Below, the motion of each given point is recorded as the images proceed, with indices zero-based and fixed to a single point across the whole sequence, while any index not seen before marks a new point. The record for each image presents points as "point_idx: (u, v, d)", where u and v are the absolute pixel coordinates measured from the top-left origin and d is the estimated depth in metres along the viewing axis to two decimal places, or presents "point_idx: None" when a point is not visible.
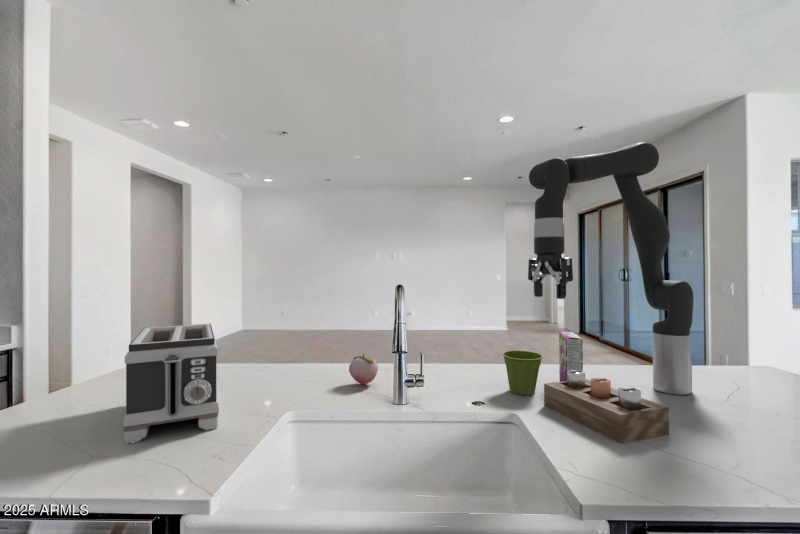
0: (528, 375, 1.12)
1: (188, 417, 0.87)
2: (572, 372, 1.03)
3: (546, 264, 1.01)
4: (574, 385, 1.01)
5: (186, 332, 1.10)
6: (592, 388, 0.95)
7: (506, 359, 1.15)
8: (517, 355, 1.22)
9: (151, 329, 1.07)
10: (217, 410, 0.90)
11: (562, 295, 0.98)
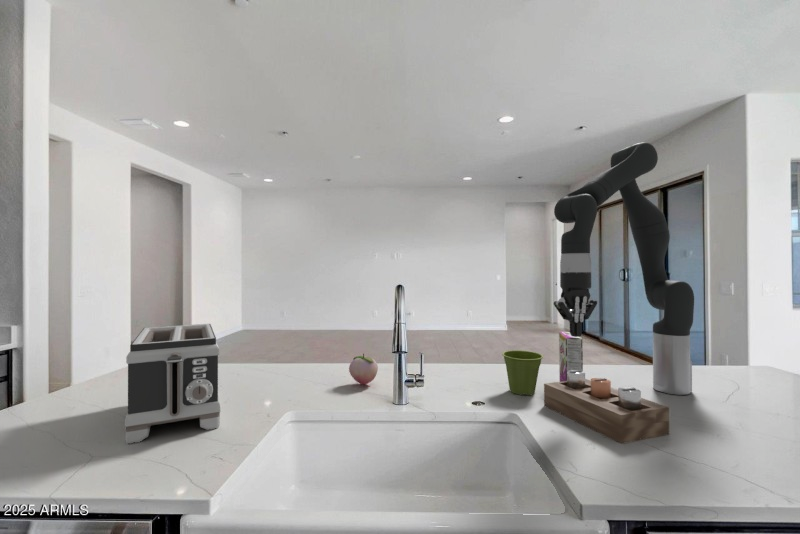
0: (528, 375, 1.12)
1: (190, 417, 0.87)
2: (572, 372, 1.03)
3: (584, 299, 1.02)
4: (574, 385, 1.01)
5: (186, 332, 1.10)
6: (592, 388, 0.95)
7: (506, 359, 1.15)
8: (517, 355, 1.22)
9: (151, 329, 1.07)
10: (219, 410, 0.90)
11: None
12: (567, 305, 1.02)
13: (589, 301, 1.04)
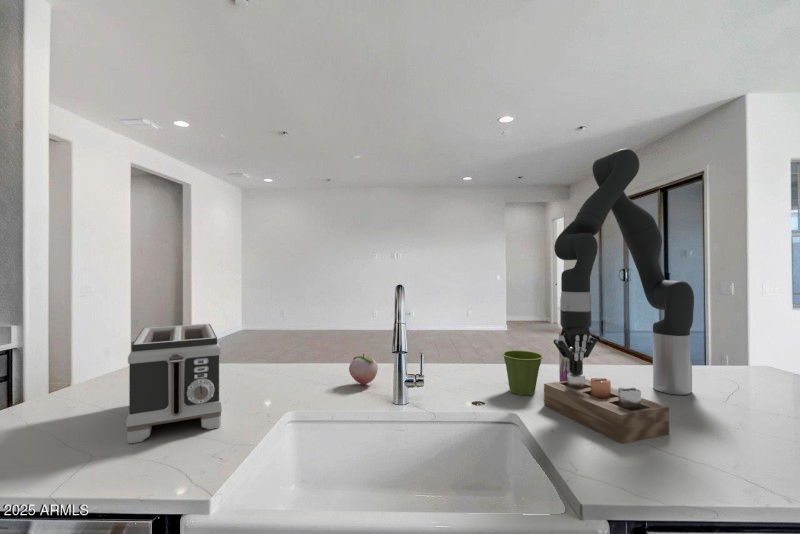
0: (528, 375, 1.12)
1: (191, 416, 0.87)
2: (572, 375, 1.03)
3: (584, 337, 1.02)
4: (574, 388, 1.01)
5: (186, 332, 1.10)
6: (592, 388, 0.95)
7: (506, 359, 1.15)
8: (517, 355, 1.22)
9: (150, 329, 1.07)
10: (220, 409, 0.90)
11: None
12: (567, 343, 1.02)
13: (589, 339, 1.04)
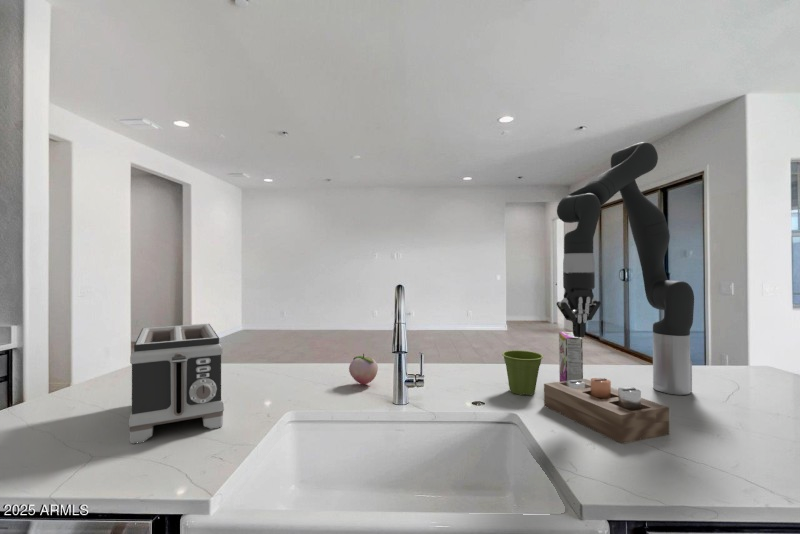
0: (528, 375, 1.12)
1: (193, 416, 0.88)
2: (572, 382, 1.03)
3: (588, 299, 1.01)
4: None
5: (185, 332, 1.10)
6: (592, 388, 0.95)
7: (506, 359, 1.15)
8: (517, 355, 1.22)
9: (150, 329, 1.06)
10: (222, 409, 0.91)
11: None
12: (570, 306, 1.01)
13: (592, 301, 1.03)
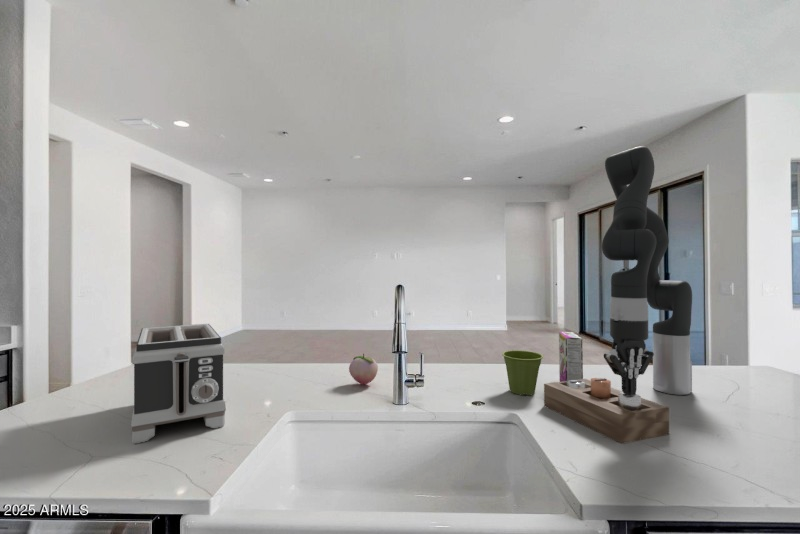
0: (528, 375, 1.12)
1: (196, 416, 0.88)
2: (572, 382, 1.03)
3: (640, 351, 0.87)
4: None
5: (185, 332, 1.10)
6: (592, 388, 0.95)
7: (506, 359, 1.15)
8: (517, 355, 1.22)
9: (149, 329, 1.06)
10: (224, 408, 0.91)
11: None
12: (619, 358, 0.87)
13: (644, 352, 0.89)
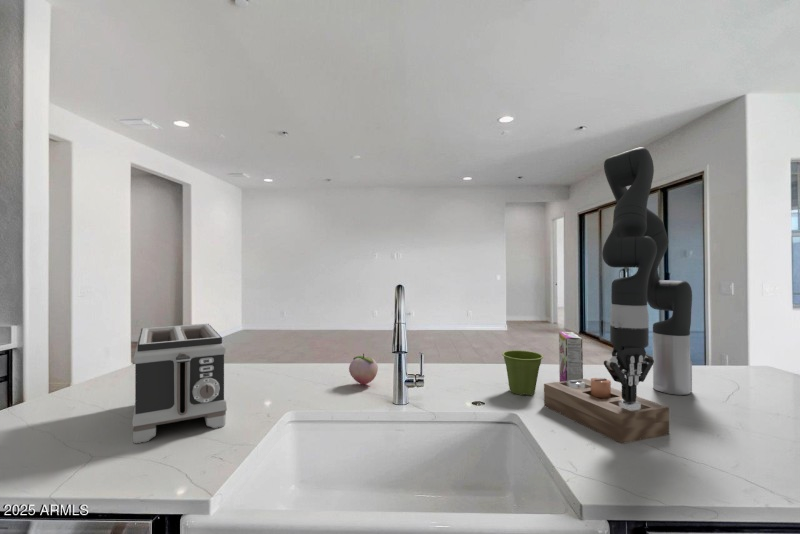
0: (528, 375, 1.12)
1: (197, 415, 0.88)
2: (572, 382, 1.03)
3: (640, 358, 0.87)
4: None
5: (185, 332, 1.10)
6: (592, 388, 0.95)
7: (506, 359, 1.15)
8: (517, 355, 1.22)
9: (149, 329, 1.06)
10: (225, 408, 0.91)
11: None
12: (619, 365, 0.87)
13: (644, 359, 0.89)
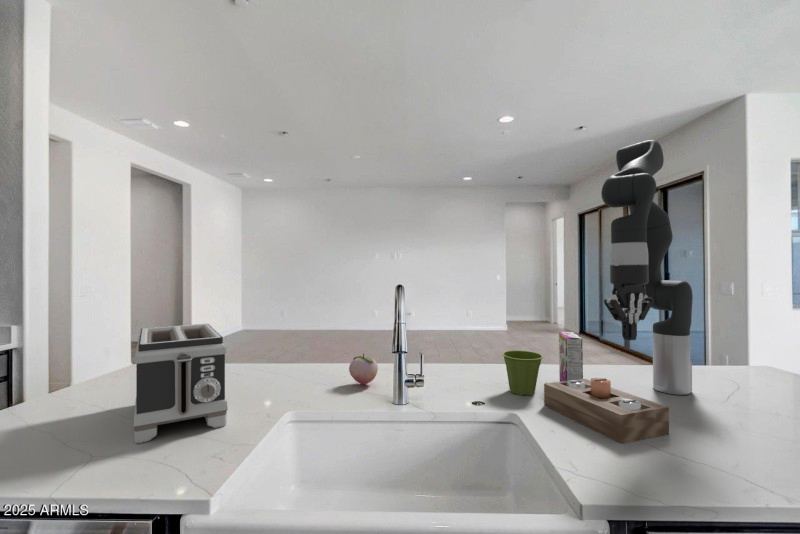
0: (528, 375, 1.12)
1: (198, 415, 0.88)
2: (572, 382, 1.03)
3: (640, 296, 0.87)
4: None
5: (184, 332, 1.10)
6: (592, 388, 0.95)
7: (506, 359, 1.15)
8: (517, 355, 1.22)
9: (149, 330, 1.06)
10: (226, 408, 0.91)
11: None
12: (620, 303, 0.87)
13: (644, 299, 0.89)
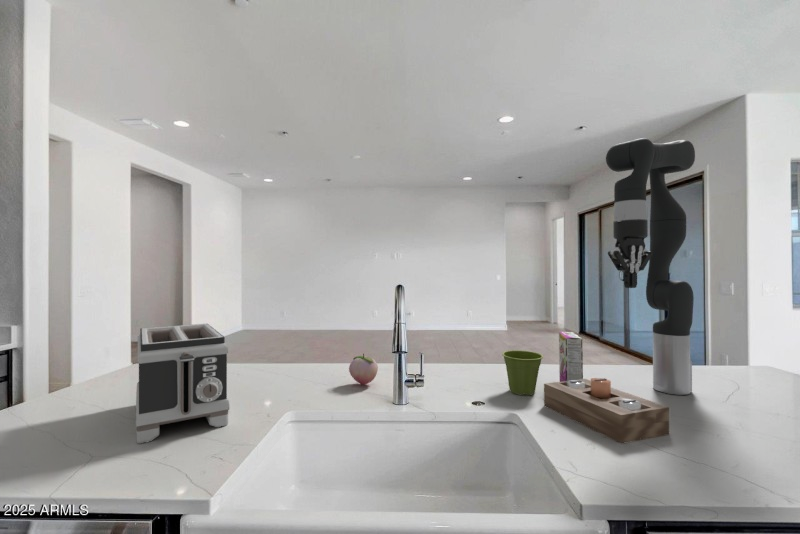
0: (528, 375, 1.12)
1: (200, 415, 0.88)
2: (572, 382, 1.03)
3: (640, 248, 0.98)
4: None
5: (184, 332, 1.10)
6: (592, 388, 0.95)
7: (506, 359, 1.15)
8: (517, 355, 1.22)
9: (148, 330, 1.06)
10: (228, 407, 0.92)
11: None
12: (622, 255, 0.98)
13: (644, 252, 1.00)
